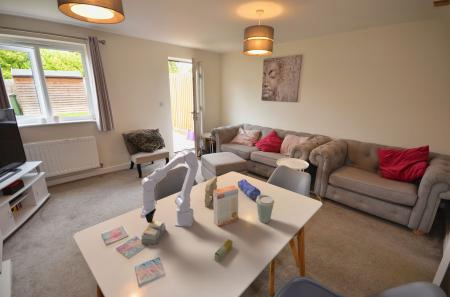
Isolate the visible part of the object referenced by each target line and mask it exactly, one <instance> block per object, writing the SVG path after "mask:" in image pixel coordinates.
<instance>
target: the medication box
mask: <svg viewBox="0 0 450 297" xmlns="http://www.w3.org/2000/svg"><path fill="white" fill-rule="evenodd" d="M232 248H233V240H232V239H229V238H227V240H226V241H225V242H224V243H223V244H222V245H221V246H220V247H219V248H218V249H217V250H216V252H215V253H214V261H215V262H217V263H220V262H221V261H222V260H223V258H224V257H225V256H226V255H227V253H228V252H229V251H230V250H231V249H232Z"/></svg>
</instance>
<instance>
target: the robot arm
mask: <svg viewBox="0 0 450 297" xmlns="http://www.w3.org/2000/svg"><path fill="white" fill-rule="evenodd" d="M179 164H180V165H182V164H187V166H188V167H187V168H188V169H187V172H186V174H185V178H184V180H183V184H182V186H181V187H182V188H181V190H180V192H179V193H178V194H177V196H176V198H175V200H174V203H175V205H176V209H175V211H176V222H175V223H174V226H175V227H187V228H188V227H189V228H191V227H192V224H193V222H194V220H195V216H194V209H193V208H191V192H192V189H193V186H194V183H195V180H196V176H197V173H198V171H199V170H198V169H199V161H198V156H197V154H196V153H195V152H193V151H192V150H190V149H189V148H183V149H181V151H179V152H178V153H176V155H175V156H174V157H173V158H172V159H171V160H169V161H168V163H166V164H165V165H164V166H163V167H157V168H155V169H154V171H153V172H152V173H151V174H150V175H147V176H146V177H143V179H142V180H141V182H140V184H141V186H142V206H141V209H142V210H141V213H140V218H141V219H145V220H146V222H147V223H148V224H150V223H151V222H152V220H154V216H155V212H156V210H157V208H156V206H157V204H158V203H157V200H156V198H155V188H156V185H157V184H158V183H160V181H162V180H163V179H165V178H166V177H167V174H168V172H169V171H171V170H172V169H174V168H175V167H177V166H178V165H179Z"/></svg>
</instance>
